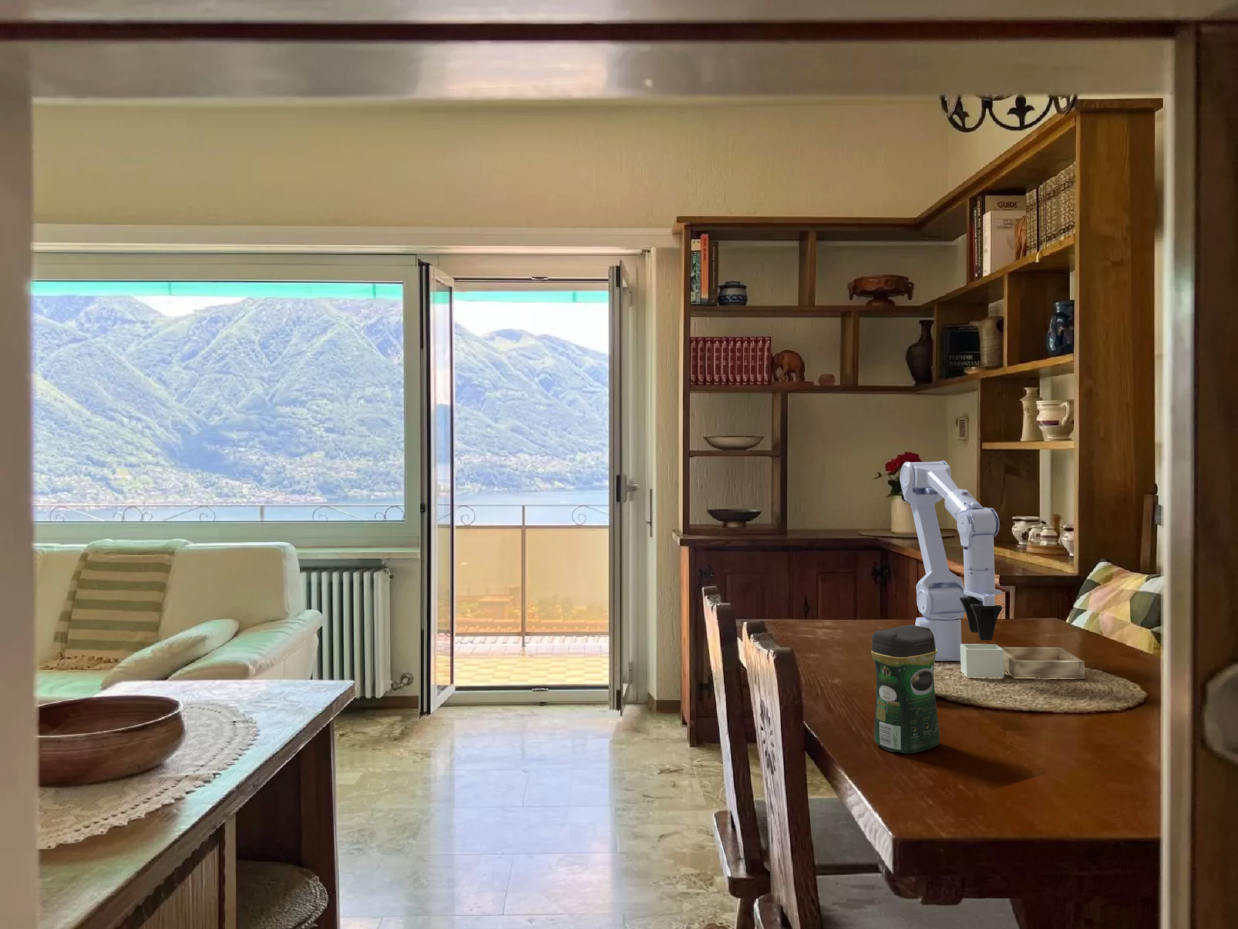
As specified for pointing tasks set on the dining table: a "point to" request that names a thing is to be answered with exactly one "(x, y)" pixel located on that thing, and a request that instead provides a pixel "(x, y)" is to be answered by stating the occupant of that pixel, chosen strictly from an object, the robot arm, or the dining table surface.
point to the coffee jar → (905, 689)
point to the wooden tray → (1042, 662)
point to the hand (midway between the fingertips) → (981, 636)
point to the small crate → (982, 660)
